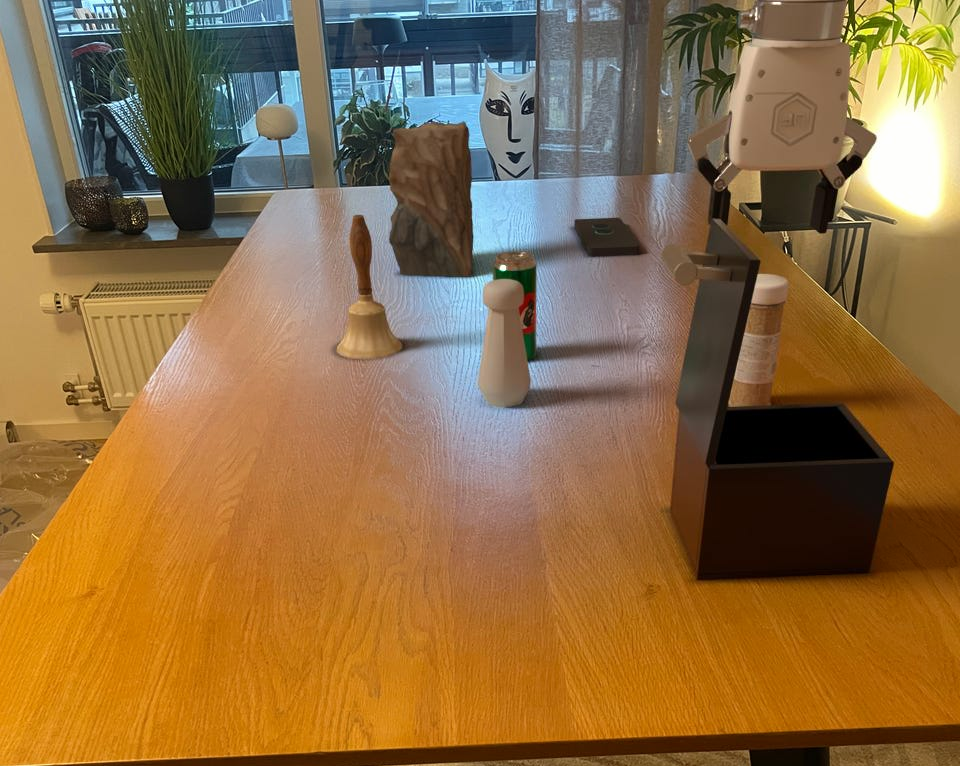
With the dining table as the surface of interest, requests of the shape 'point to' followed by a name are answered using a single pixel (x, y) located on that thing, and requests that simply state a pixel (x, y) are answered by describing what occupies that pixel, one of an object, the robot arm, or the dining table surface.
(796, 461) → the box
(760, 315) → the sprinkles bottle
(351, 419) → the dining table surface
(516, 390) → the salt shaker
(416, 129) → the owl
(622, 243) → the smart home device
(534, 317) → the soda can
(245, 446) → the dining table surface
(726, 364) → the lid
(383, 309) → the hand bell
